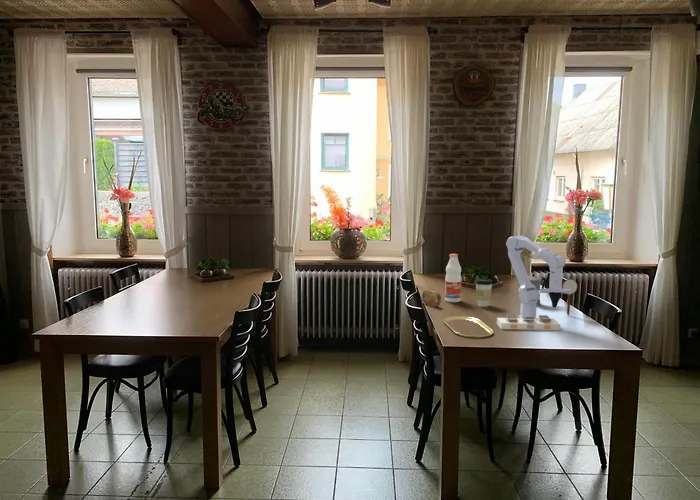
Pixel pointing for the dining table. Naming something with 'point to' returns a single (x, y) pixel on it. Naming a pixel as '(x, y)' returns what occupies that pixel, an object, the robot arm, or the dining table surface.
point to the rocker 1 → (511, 317)
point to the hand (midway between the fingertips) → (554, 307)
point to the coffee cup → (483, 291)
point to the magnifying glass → (572, 286)
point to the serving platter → (471, 320)
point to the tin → (431, 298)
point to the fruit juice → (453, 280)
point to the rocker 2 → (544, 318)
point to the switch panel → (528, 324)
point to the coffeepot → (537, 284)
